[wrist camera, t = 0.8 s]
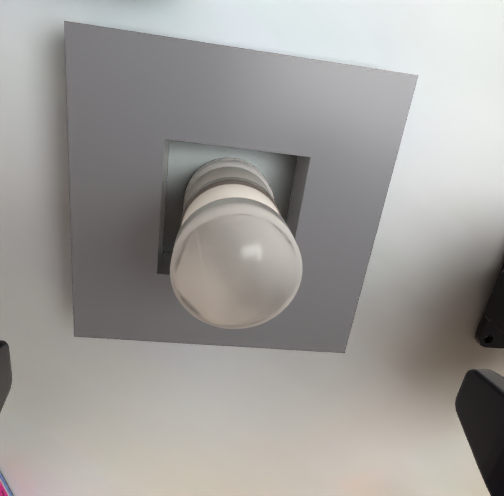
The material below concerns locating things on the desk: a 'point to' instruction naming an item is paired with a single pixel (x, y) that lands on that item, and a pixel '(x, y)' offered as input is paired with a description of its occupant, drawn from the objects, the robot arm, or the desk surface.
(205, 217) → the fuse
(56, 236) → the desk surface
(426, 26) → the desk surface
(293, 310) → the frame
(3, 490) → the ink cartridge box
